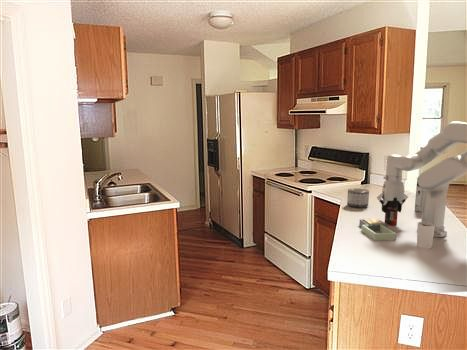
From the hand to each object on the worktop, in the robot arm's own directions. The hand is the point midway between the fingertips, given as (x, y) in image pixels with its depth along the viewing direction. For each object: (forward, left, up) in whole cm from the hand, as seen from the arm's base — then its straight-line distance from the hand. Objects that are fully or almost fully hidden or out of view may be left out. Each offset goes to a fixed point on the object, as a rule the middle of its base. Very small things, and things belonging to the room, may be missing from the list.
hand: (391, 211), depth 183 cm
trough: (-16, +15, -7) cm, 23 cm away
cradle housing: (-5, +12, -7) cm, 15 cm away
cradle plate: (-5, +12, -5) cm, 14 cm away
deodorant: (0, 0, -7) cm, 7 cm away
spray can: (+24, -32, -7) cm, 41 cm away
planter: (+39, +1, -7) cm, 39 cm away
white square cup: (-32, +2, -7) cm, 33 cm away
